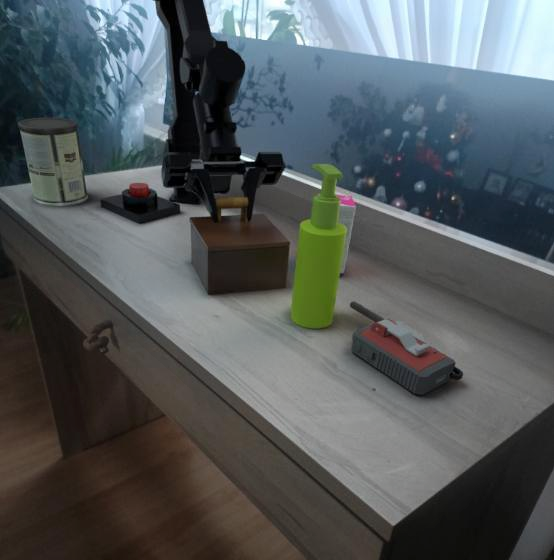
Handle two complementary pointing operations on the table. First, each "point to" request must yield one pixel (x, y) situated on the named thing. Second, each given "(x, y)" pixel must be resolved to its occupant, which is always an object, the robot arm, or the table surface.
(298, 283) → the soap dispenser
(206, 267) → the chest
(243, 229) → the lid
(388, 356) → the walkie-talkie
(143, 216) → the button box
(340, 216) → the supplement box
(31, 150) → the coffee can
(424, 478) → the table surface
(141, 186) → the button
